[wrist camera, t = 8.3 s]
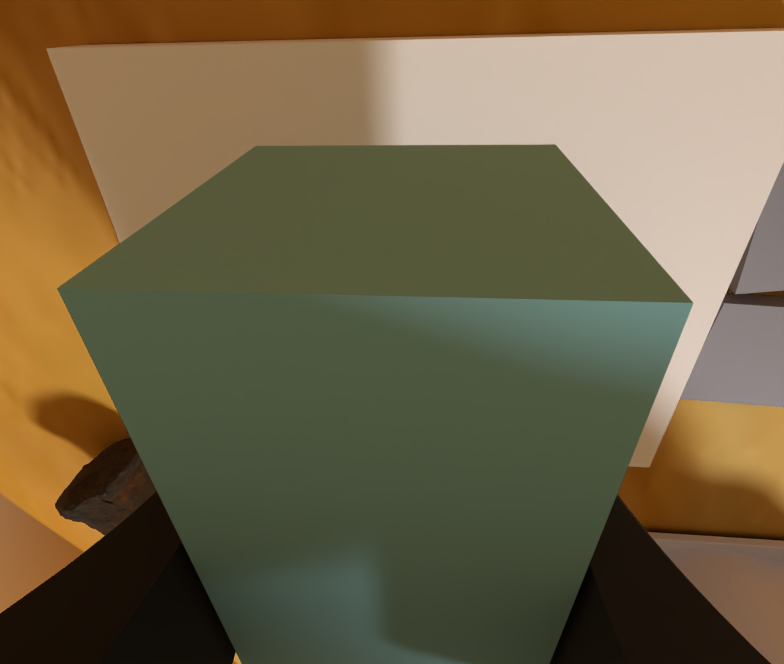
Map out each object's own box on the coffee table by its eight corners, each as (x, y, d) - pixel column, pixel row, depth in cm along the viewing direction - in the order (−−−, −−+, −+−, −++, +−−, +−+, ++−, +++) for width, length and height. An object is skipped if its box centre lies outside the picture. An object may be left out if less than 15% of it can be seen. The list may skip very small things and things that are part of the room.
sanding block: (555, 144, 8) (693, 303, 3) (490, 536, 14) (511, 758, 10) (255, 145, 8) (57, 288, 4) (324, 525, 14) (276, 734, 10)
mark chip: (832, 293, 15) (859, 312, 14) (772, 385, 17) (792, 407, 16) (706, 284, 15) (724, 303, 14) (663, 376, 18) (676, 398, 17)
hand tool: (90, 443, 23) (19, 531, 19) (148, 422, 21) (85, 511, 18) (301, 621, 32) (281, 704, 28) (351, 613, 30) (338, 699, 27)
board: (796, 27, 11) (842, 29, 10) (635, 437, 19) (649, 467, 18) (84, 44, 13) (45, 48, 11) (211, 417, 20) (196, 443, 19)
